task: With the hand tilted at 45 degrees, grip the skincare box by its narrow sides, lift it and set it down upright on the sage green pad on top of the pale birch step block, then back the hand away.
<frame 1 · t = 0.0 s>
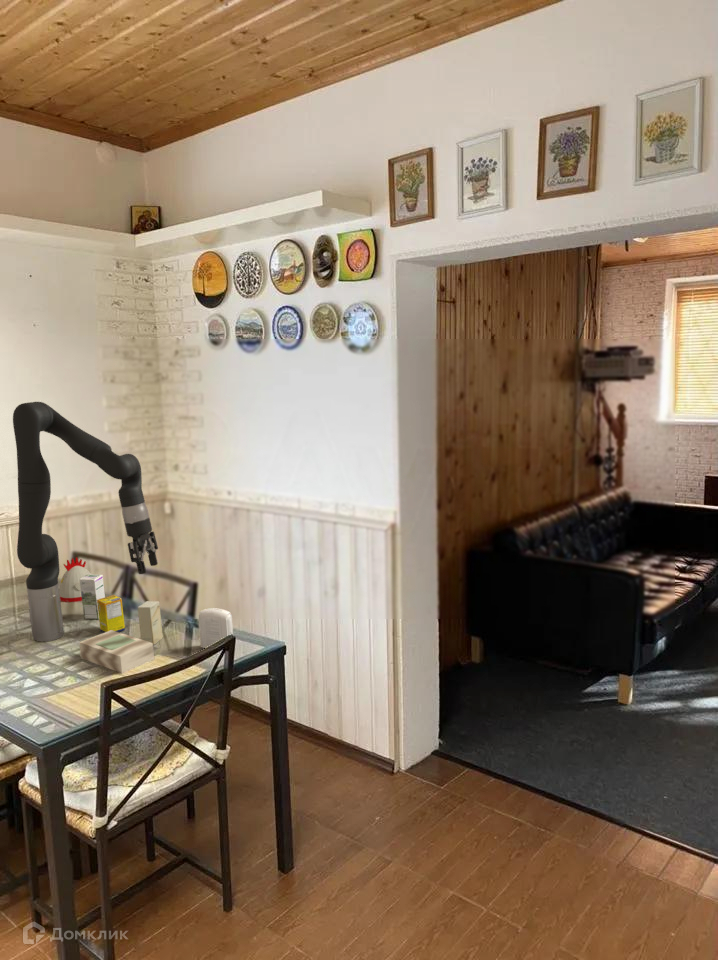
hand: (148, 569, 223), 22 cm above the table, tool pointing down, fingers open, 8 cm apart
skincare box: (152, 641, 224), on the table
photo printer: (217, 648, 217), on the table
supplement box: (112, 631, 235), on the table
step block: (117, 658, 212), on the table
kitchen timer: (78, 596, 273), on the table
syrup box: (95, 617, 249), on the table
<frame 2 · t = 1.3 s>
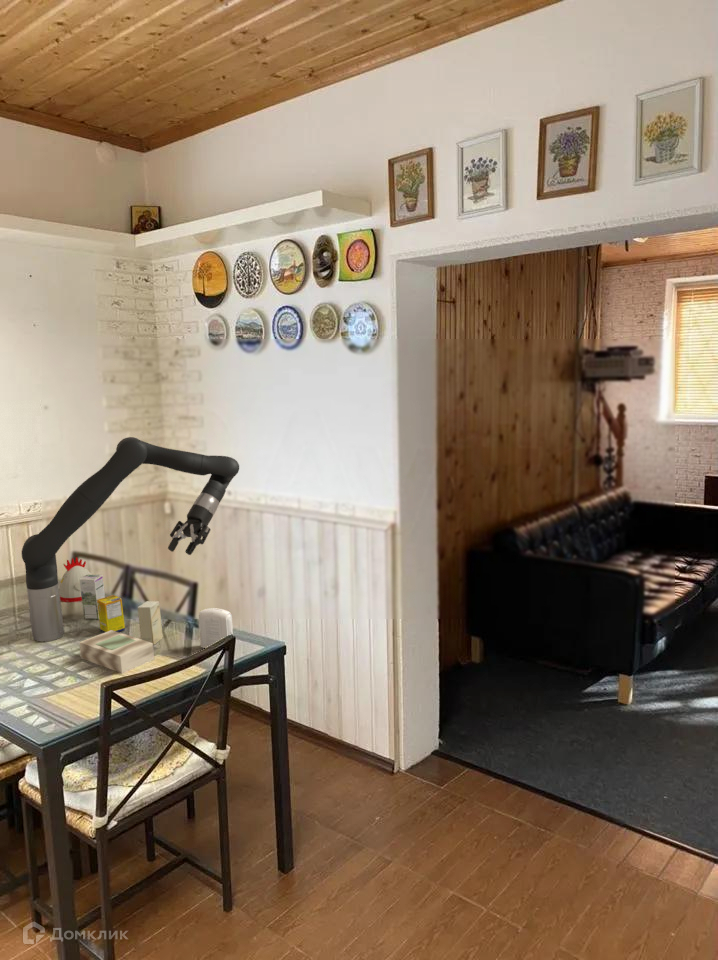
hand: (178, 552, 231), 25 cm above the table, tool tilted 45°, fingers open, 8 cm apart
nothing on the table moved.
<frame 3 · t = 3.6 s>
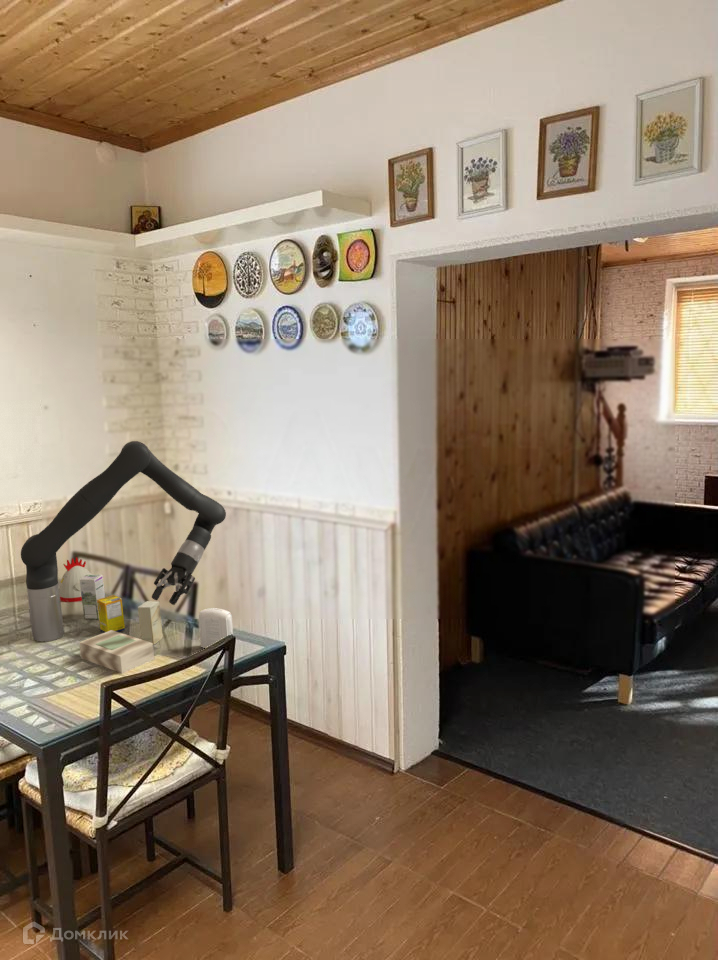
hand: (162, 601, 227), 11 cm above the table, tool tilted 45°, fingers open, 8 cm apart
nothing on the table moved.
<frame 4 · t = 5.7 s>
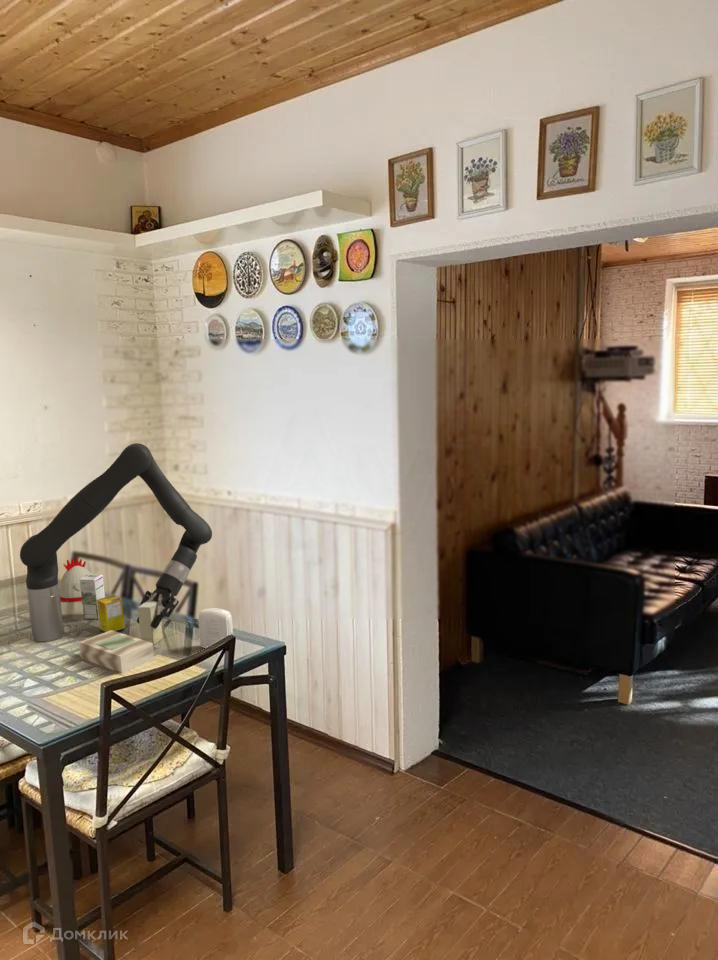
hand: (146, 625, 222), 6 cm above the table, tool tilted 45°, fingers closed on skincare box, 6 cm apart
skincare box: (152, 641, 224), on the table, touching gripper
everything else where it was.
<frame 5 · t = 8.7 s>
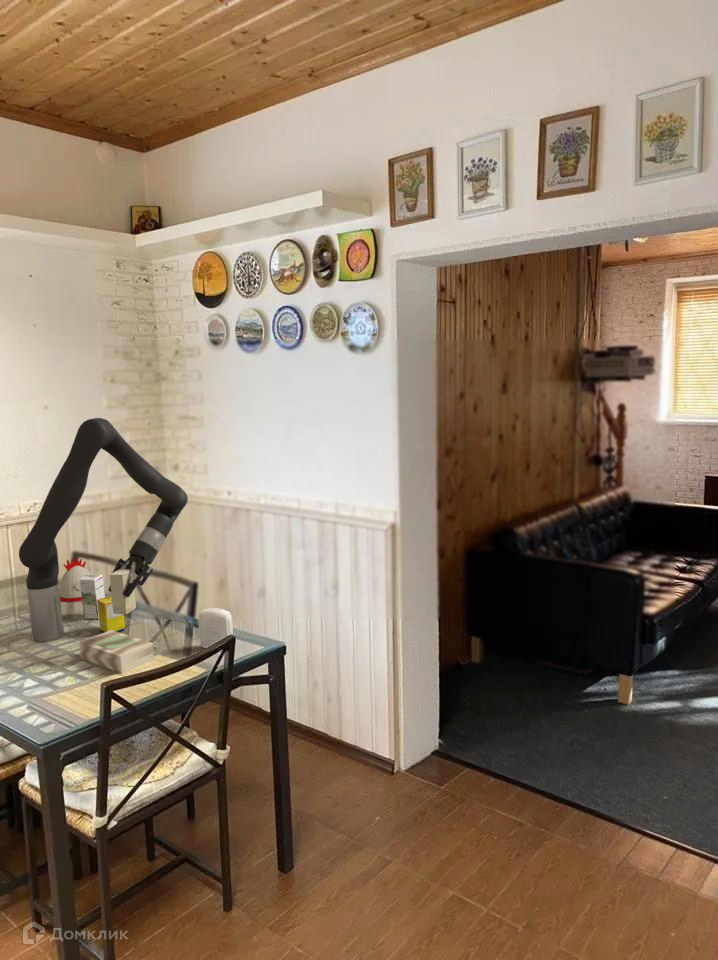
hand: (118, 593, 212), 19 cm above the table, tool tilted 45°, fingers closed on skincare box, 6 cm apart
skincare box: (124, 611, 214), point 13 cm above the table, touching gripper
everything else where it was.
when the fingers open (12 cm above the table, at t = 11.7 s): skincare box drops 1 cm, resting on step block.
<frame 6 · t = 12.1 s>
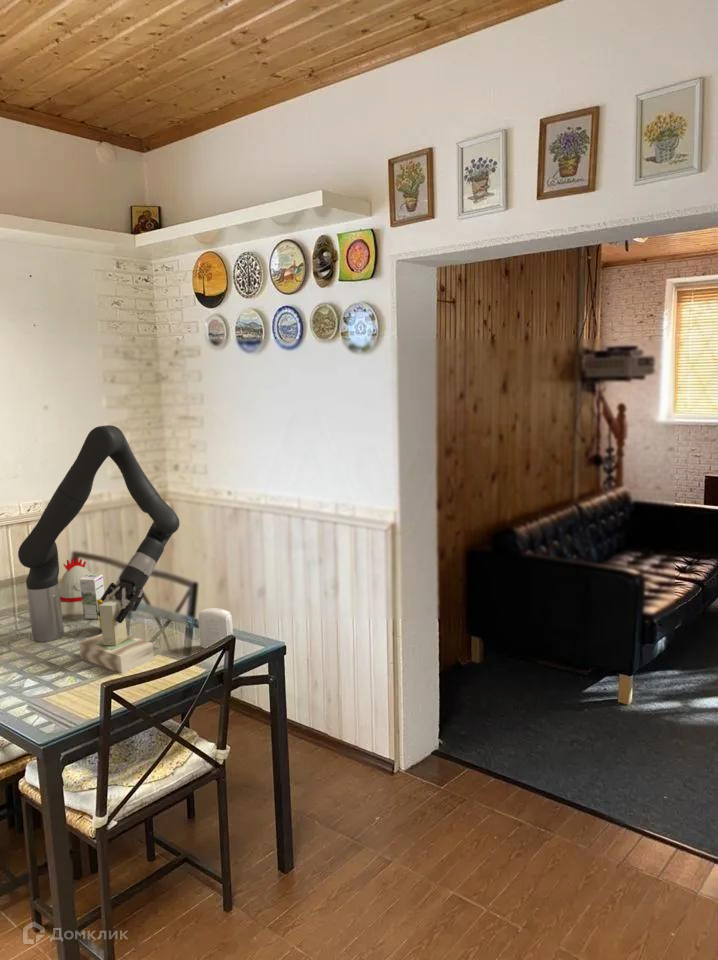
hand: (108, 619, 209), 13 cm above the table, tool tilted 45°, fingers open, 8 cm apart
skincare box: (115, 642, 212), point 5 cm above the table, touching step block
everything else where it was.
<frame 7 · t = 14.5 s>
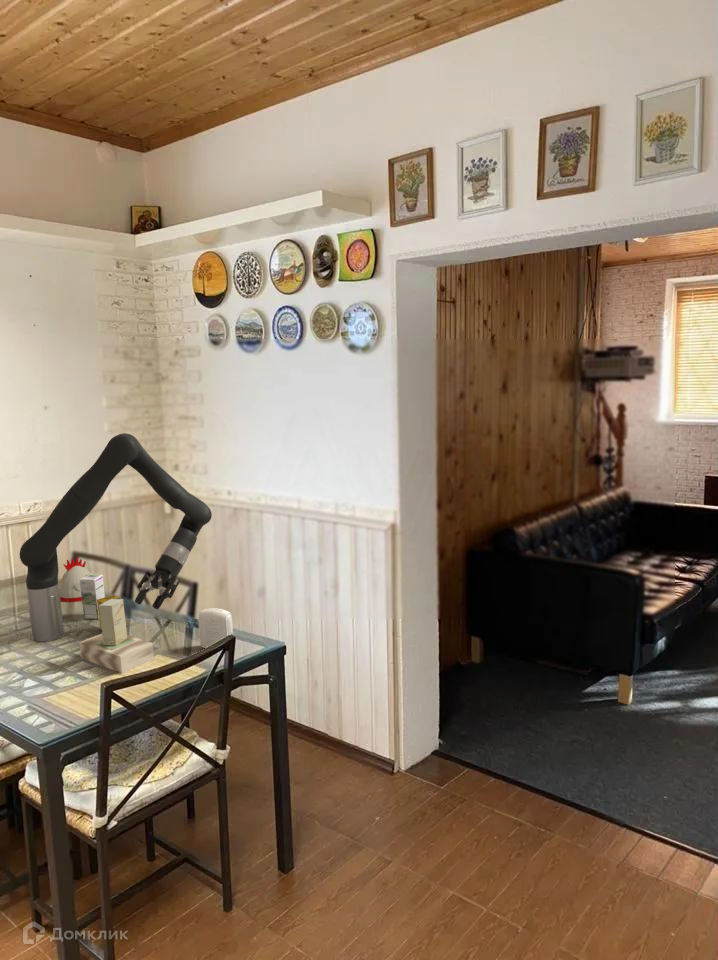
hand: (146, 605, 219), 13 cm above the table, tool tilted 45°, fingers open, 8 cm apart
nothing on the table moved.
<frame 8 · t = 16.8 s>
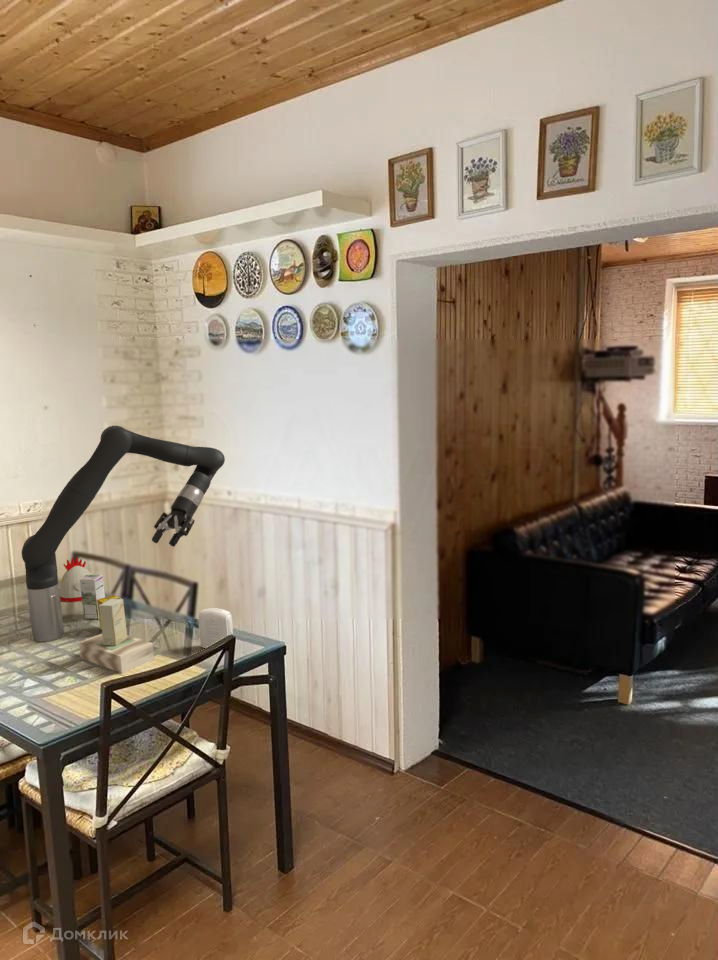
hand: (162, 543, 229), 29 cm above the table, tool tilted 45°, fingers open, 8 cm apart
nothing on the table moved.
at the end: skincare box inside the target area on the step block (0.4 cm from its centre), point 4.9 cm above the step block's base; skincare box tilted 0°; the gripper is holding nothing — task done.
